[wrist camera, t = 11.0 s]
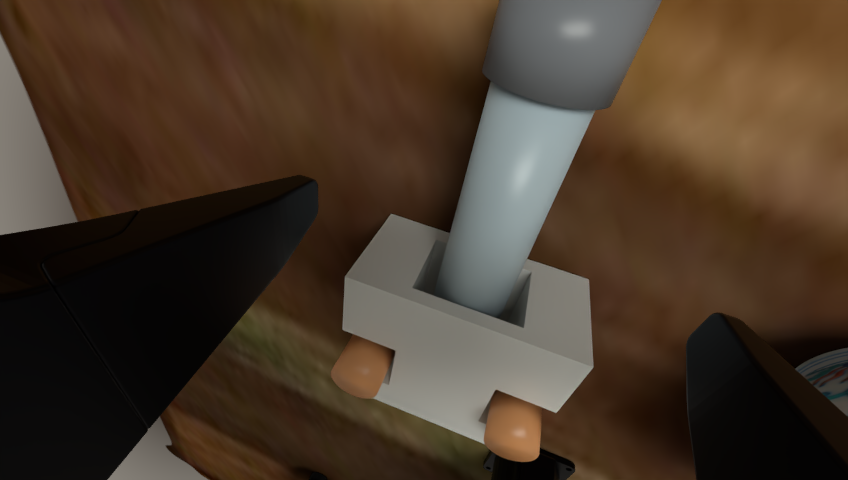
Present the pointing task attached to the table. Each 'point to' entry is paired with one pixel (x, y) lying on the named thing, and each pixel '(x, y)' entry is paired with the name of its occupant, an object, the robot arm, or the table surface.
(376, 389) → the plunger
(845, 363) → the chinaware
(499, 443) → the plunger
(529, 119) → the cartridge
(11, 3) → the table surface
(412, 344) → the housing
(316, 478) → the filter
